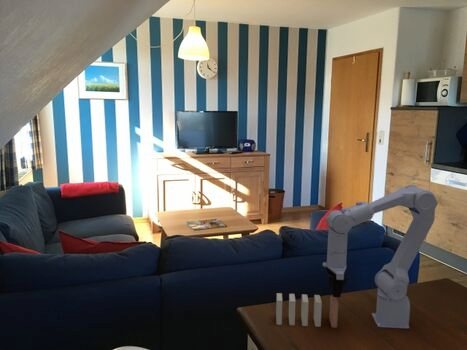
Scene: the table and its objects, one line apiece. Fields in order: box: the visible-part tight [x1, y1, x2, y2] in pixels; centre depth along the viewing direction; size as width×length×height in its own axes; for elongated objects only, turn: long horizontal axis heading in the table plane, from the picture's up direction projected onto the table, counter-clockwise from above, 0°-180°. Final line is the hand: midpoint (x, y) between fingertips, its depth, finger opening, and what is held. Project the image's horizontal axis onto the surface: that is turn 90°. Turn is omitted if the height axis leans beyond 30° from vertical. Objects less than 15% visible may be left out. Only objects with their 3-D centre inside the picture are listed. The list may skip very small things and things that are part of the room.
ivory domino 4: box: [313, 294, 323, 328], centre depth 126 cm, size 2×5×8 cm, turn 175°
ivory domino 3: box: [300, 294, 309, 327], centre depth 126 cm, size 2×5×8 cm, turn 175°
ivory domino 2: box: [288, 293, 296, 326], centre depth 127 cm, size 2×5×8 cm, turn 175°
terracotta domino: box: [328, 295, 339, 328], centre depth 125 cm, size 2×5×8 cm, turn 175°
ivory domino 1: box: [275, 292, 283, 326], centre depth 127 cm, size 2×5×8 cm, turn 175°
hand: (334, 292), depth 124 cm, fingers open, 5 cm apart
